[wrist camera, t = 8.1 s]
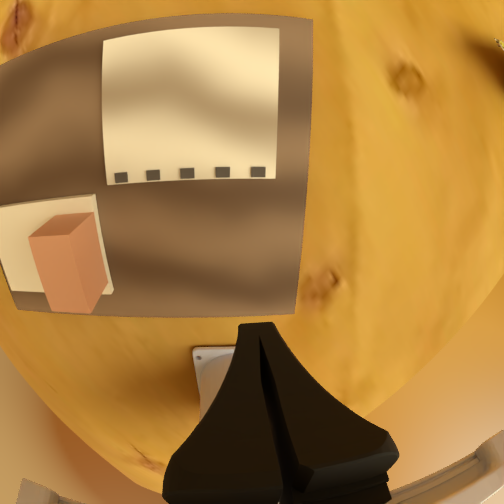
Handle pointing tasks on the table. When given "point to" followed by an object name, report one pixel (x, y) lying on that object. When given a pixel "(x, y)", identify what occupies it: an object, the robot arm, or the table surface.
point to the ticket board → (172, 156)
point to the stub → (56, 251)
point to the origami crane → (500, 43)
